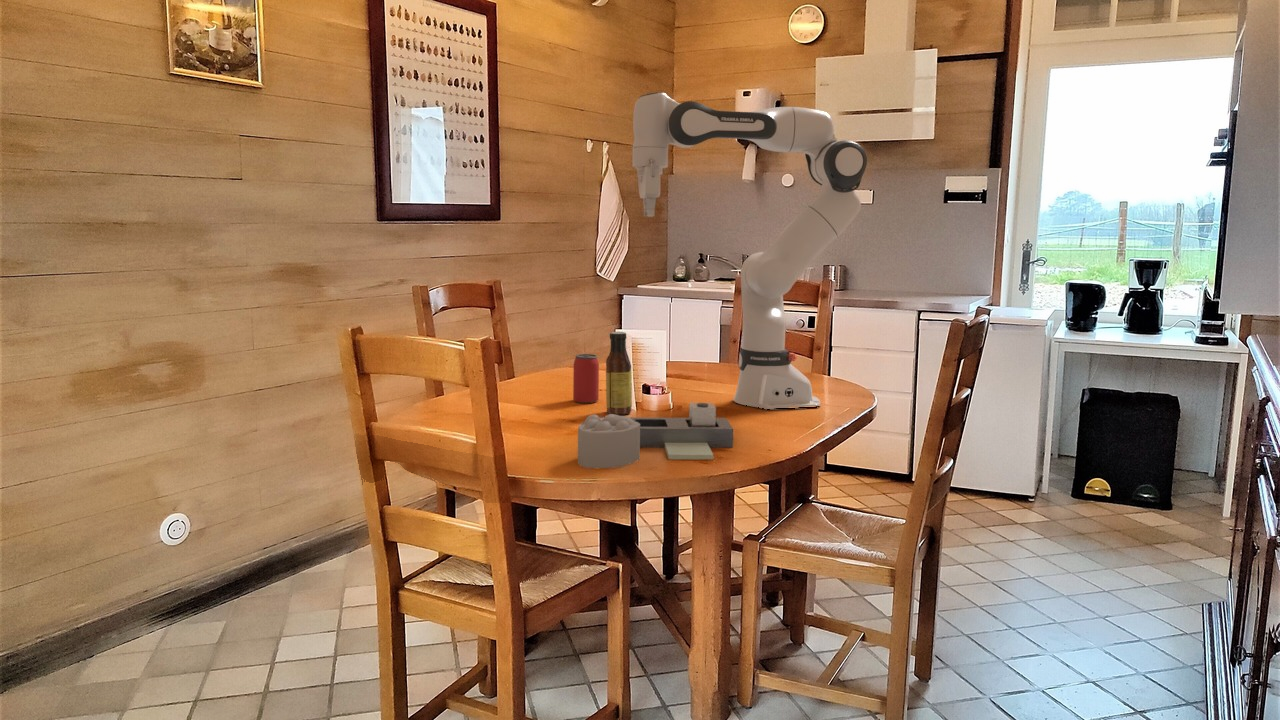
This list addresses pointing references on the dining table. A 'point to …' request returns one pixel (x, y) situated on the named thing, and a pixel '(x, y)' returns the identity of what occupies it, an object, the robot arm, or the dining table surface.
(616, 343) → the sauce bottle
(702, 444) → the pad
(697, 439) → the rail
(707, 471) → the dining table surface
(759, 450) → the dining table surface
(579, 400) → the beer can
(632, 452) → the lumpy-topped squat cylinder
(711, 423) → the grey square post
